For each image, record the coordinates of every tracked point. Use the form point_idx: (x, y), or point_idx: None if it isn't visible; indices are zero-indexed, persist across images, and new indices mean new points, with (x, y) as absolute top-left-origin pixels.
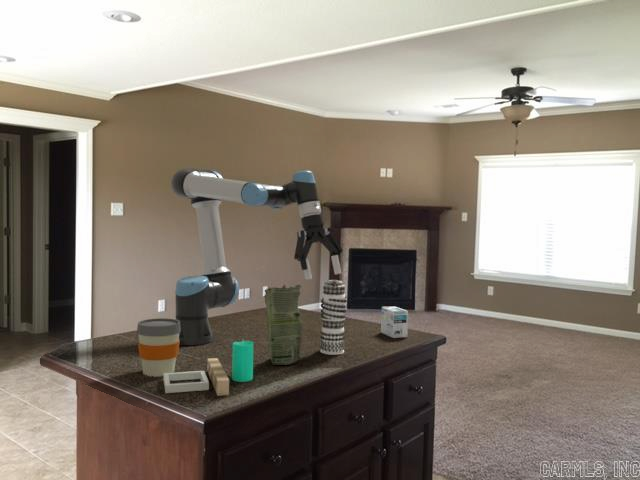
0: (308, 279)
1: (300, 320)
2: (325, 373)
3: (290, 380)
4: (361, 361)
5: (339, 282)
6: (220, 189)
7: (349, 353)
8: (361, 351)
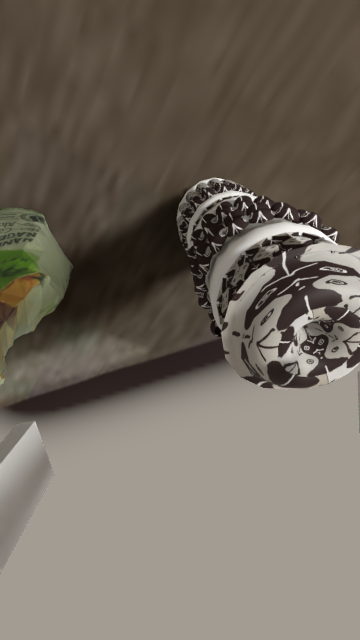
0: (38, 437)
1: (47, 312)
2: (94, 368)
3: None
4: None
5: (311, 387)
6: None
7: None
8: None
